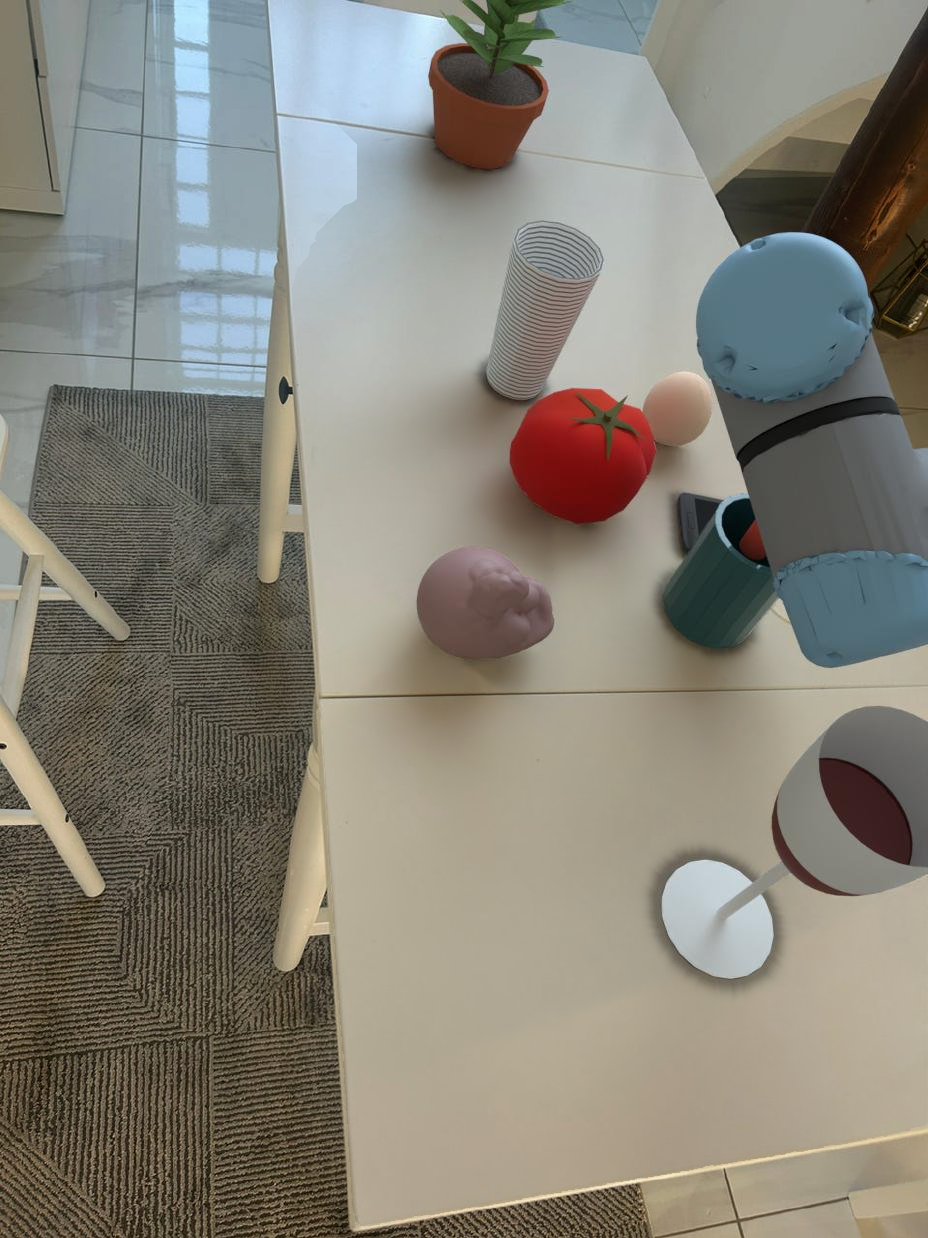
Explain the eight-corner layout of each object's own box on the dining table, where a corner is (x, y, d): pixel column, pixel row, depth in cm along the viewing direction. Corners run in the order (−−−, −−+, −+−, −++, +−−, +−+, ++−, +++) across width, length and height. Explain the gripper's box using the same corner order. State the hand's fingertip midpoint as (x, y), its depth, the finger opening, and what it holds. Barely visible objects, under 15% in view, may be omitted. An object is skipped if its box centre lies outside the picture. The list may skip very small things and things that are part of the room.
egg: (675, 411, 103) (707, 352, 96) (704, 457, 99) (738, 400, 93) (621, 416, 100) (650, 356, 94) (648, 464, 97) (680, 405, 91)
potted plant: (390, 132, 121) (438, -157, 97) (467, 102, 129) (528, -172, 105) (480, 195, 117) (552, -89, 93) (553, 159, 126) (637, -110, 102)
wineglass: (629, 906, 70) (784, 764, 51) (715, 831, 75) (885, 677, 57) (720, 1014, 67) (919, 904, 49) (803, 927, 72) (1012, 799, 54)
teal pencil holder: (768, 635, 88) (832, 560, 79) (695, 660, 84) (753, 584, 75) (717, 563, 91) (773, 484, 82) (645, 584, 88) (696, 504, 79)
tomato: (545, 560, 87) (583, 479, 78) (475, 462, 92) (504, 376, 83) (657, 520, 93) (704, 442, 84) (586, 431, 98) (623, 348, 89)
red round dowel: (771, 556, 80) (872, 425, 68) (749, 563, 79) (848, 431, 67) (755, 534, 81) (851, 401, 70) (733, 540, 80) (827, 406, 69)
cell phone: (675, 495, 95) (678, 490, 94) (807, 522, 97) (811, 517, 96) (681, 553, 91) (684, 548, 90) (819, 580, 93) (823, 575, 92)
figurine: (541, 690, 79) (588, 605, 69) (405, 673, 77) (434, 582, 67) (537, 602, 84) (581, 511, 74) (410, 583, 82) (438, 487, 72)
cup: (565, 376, 102) (617, 247, 89) (535, 422, 97) (586, 292, 84) (493, 340, 102) (534, 207, 90) (459, 384, 97) (498, 250, 85)
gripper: (656, 371, 60) (707, 462, 82) (848, 540, 55) (848, 589, 77) (745, 276, 58) (773, 394, 80) (951, 440, 53) (921, 519, 75)
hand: (810, 489), depth 78 cm, fingers closed on red round dowel, 2 cm apart
